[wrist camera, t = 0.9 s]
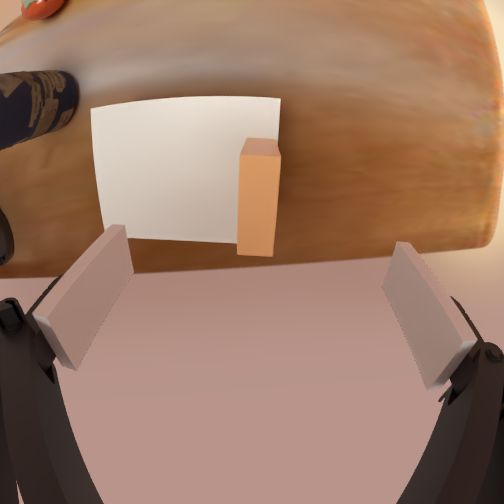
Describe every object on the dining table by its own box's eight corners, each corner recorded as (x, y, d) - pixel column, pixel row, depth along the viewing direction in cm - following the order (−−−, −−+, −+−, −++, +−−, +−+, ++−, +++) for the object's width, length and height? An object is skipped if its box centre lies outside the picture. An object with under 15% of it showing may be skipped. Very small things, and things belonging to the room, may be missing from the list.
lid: (115, 226, 31) (68, 279, 22) (103, 106, 24) (35, 119, 14) (269, 233, 31) (271, 298, 22) (278, 98, 24) (289, 96, 14)
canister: (91, 93, 28) (-8, 108, 13) (58, 143, 32) (-31, 183, 16) (59, 59, 25) (-35, 63, 9) (29, 107, 28) (-58, 134, 13)
